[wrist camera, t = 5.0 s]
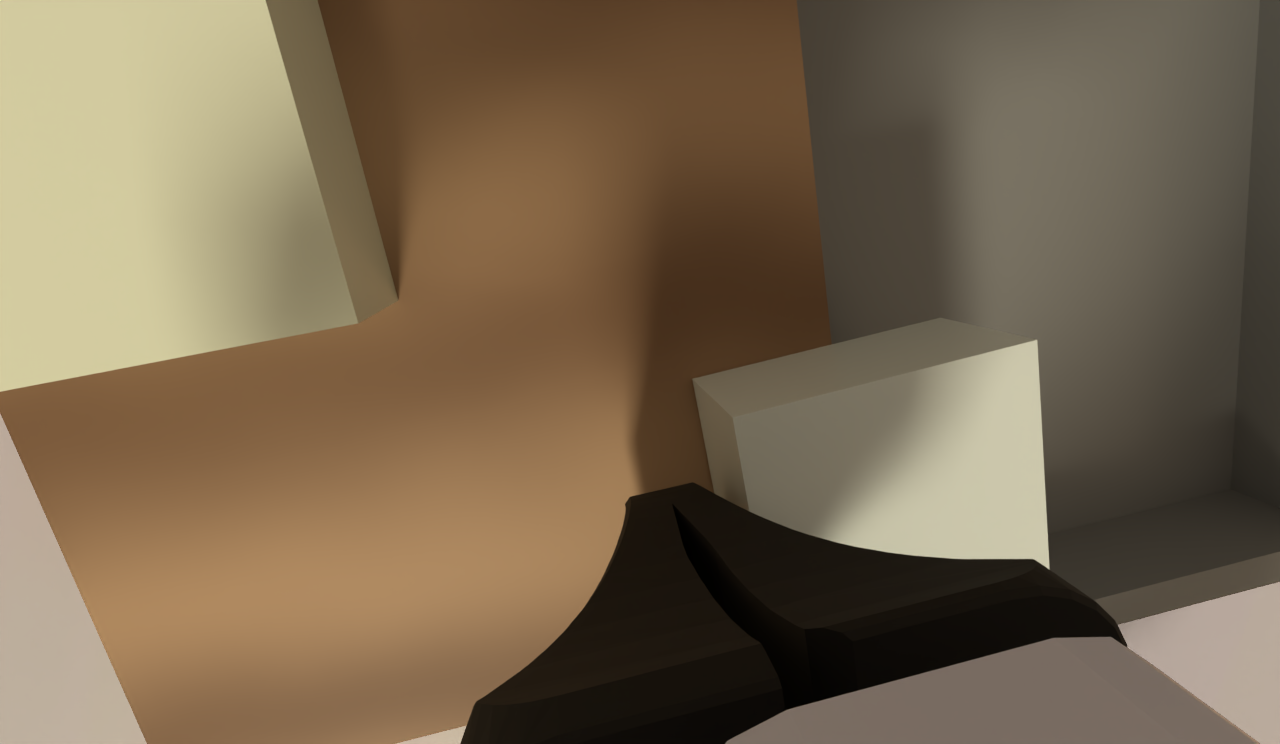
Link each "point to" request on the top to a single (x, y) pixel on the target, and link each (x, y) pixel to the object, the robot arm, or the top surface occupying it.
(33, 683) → the top surface
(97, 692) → the top surface
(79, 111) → the tile
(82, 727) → the top surface
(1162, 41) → the tray
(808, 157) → the walnut board
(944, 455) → the tile
